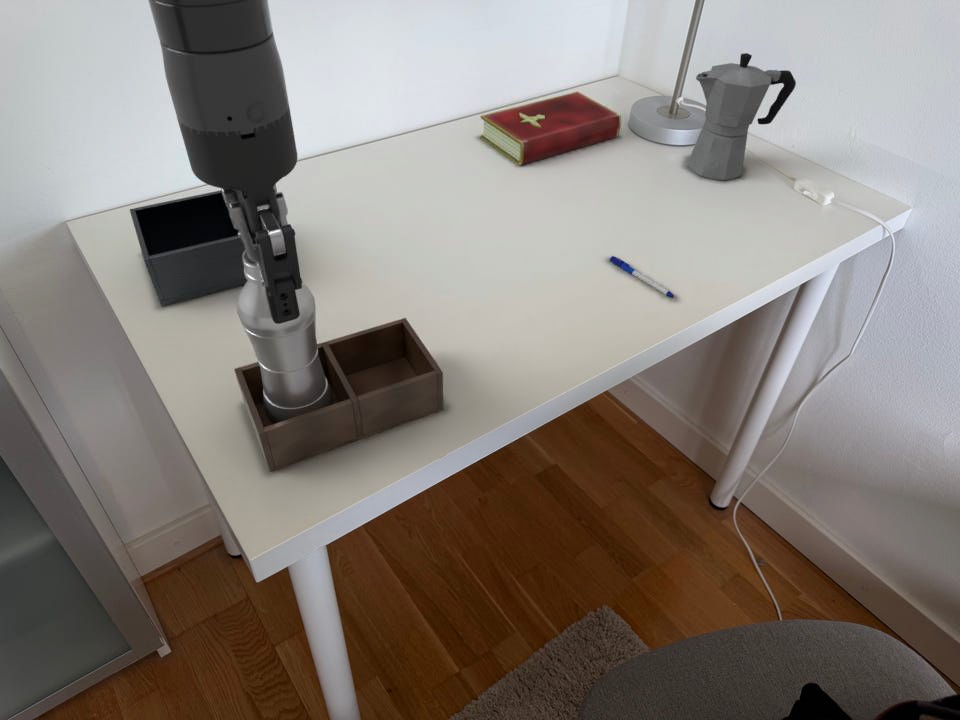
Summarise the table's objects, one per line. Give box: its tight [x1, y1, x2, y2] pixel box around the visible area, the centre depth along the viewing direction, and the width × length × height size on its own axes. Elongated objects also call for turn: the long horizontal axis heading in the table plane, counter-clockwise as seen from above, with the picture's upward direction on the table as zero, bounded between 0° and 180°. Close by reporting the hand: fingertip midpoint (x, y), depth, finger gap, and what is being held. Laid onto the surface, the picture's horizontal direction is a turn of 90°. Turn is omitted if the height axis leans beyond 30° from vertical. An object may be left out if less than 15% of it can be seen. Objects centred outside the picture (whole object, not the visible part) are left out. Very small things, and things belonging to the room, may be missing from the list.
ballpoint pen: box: [609, 255, 675, 298], centre depth 89 cm, size 10×1×1 cm, turn 41°
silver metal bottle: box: [236, 244, 334, 424], centre depth 62 cm, size 6×7×20 cm
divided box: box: [233, 317, 444, 472], centre depth 69 cm, size 18×9×5 cm, turn 118°
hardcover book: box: [479, 91, 622, 167], centre depth 117 cm, size 12×21×4 cm, turn 123°
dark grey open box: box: [129, 189, 248, 307], centre depth 86 cm, size 12×12×7 cm
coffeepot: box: [686, 52, 797, 181], centre depth 106 cm, size 15×9×18 cm, turn 93°
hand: (275, 296), depth 59 cm, fingers closed on silver metal bottle, 6 cm apart
